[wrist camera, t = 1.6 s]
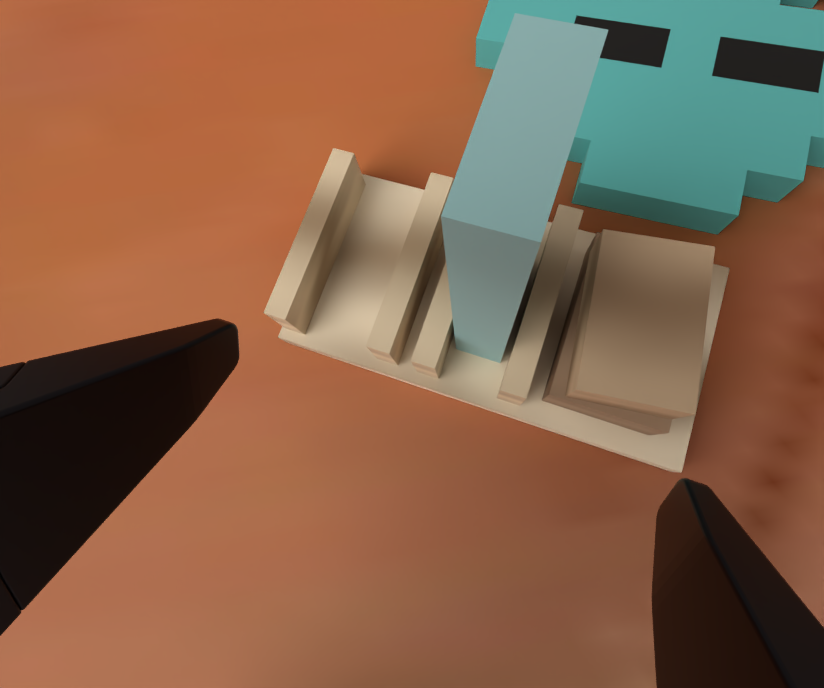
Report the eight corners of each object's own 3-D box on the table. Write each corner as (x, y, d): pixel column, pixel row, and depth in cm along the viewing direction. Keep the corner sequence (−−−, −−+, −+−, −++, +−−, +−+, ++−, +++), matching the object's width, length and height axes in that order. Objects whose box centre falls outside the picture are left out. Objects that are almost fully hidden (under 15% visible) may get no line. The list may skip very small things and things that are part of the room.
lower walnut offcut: (648, 435, 19) (668, 433, 17) (541, 400, 20) (549, 394, 18) (687, 279, 21) (710, 261, 19) (585, 252, 21) (597, 232, 19)
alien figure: (537, -113, 28) (440, 179, 25) (542, -159, 26) (437, 153, 23) (917, -75, 25) (871, 273, 21) (960, -125, 23) (917, 252, 19)
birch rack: (671, 471, 20) (713, 474, 16) (286, 342, 23) (254, 322, 20) (717, 276, 21) (764, 242, 18) (351, 181, 25) (333, 137, 21)
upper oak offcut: (670, 419, 17) (695, 414, 16) (564, 396, 18) (576, 389, 16) (689, 268, 19) (715, 246, 17) (589, 251, 19) (603, 228, 17)
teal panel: (500, 363, 21) (541, 242, 9) (456, 349, 21) (440, 215, 9) (533, 259, 22) (608, 30, 10) (490, 248, 22) (515, 13, 10)
